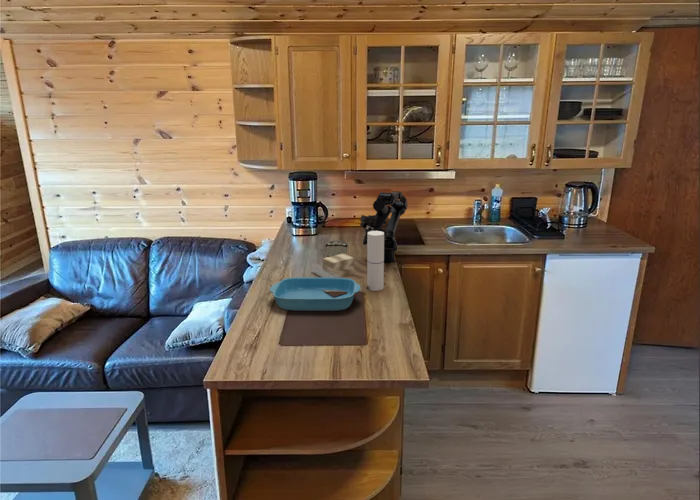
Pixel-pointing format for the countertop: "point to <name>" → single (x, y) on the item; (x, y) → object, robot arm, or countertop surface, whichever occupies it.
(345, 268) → the maple block
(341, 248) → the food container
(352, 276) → the walnut board
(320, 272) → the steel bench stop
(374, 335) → the countertop surface
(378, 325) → the countertop surface
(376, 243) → the cylindrical container
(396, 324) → the countertop surface
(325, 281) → the casserole dish
